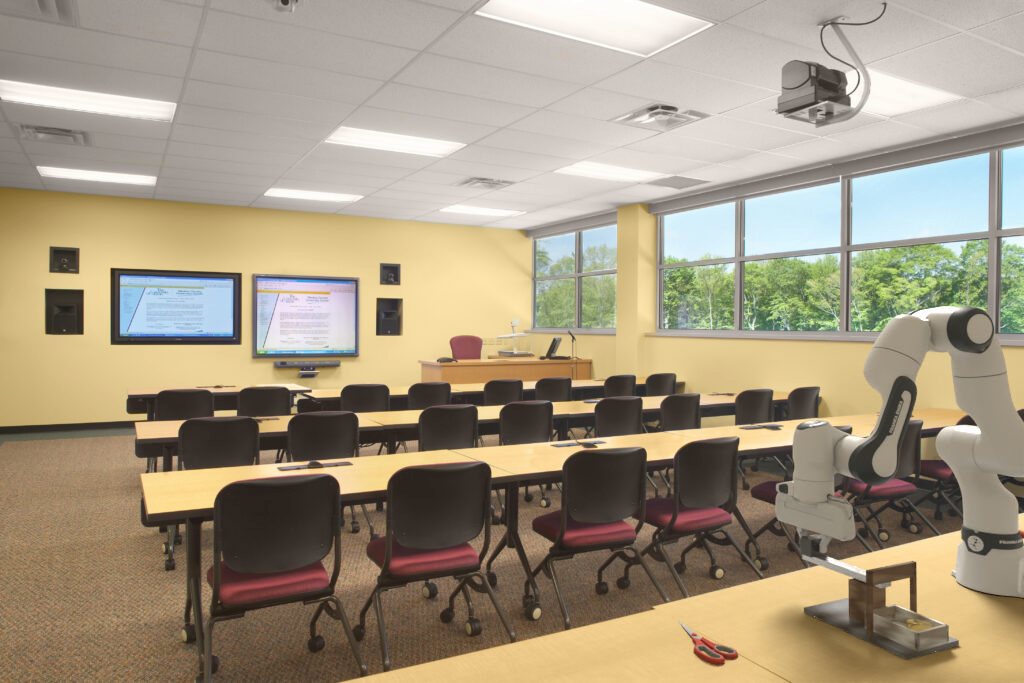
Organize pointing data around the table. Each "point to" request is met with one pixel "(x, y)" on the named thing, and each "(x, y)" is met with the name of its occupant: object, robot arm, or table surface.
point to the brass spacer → (918, 624)
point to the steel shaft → (831, 560)
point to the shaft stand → (884, 615)
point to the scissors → (710, 648)
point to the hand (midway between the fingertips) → (813, 549)
